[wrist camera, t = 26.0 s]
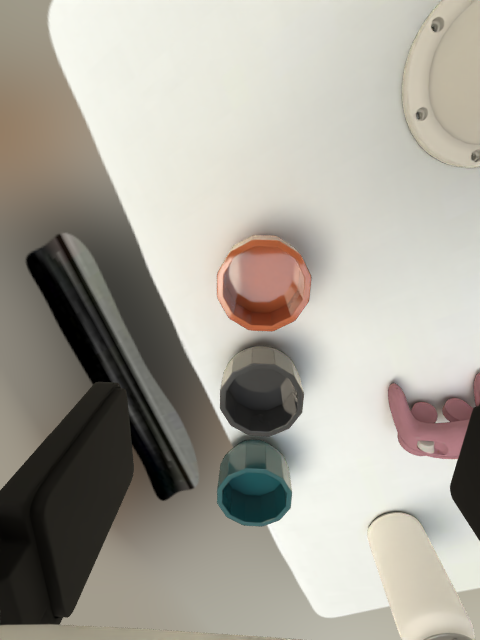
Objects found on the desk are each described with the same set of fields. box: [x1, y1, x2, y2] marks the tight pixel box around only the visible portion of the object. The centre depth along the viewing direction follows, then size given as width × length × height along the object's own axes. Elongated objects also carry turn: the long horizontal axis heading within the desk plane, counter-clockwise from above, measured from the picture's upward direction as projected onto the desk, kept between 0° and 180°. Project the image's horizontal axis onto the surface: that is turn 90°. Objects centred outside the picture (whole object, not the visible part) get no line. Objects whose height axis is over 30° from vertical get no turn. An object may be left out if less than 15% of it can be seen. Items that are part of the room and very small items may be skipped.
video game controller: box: [388, 373, 480, 459], centre depth 33 cm, size 10×5×7 cm, turn 99°
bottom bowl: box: [220, 346, 304, 436], centre depth 32 cm, size 7×7×5 cm
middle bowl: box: [217, 235, 311, 331], centre depth 29 cm, size 7×7×5 cm
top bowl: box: [217, 440, 292, 526], centre depth 36 cm, size 7×7×5 cm
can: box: [367, 512, 475, 640], centre depth 36 cm, size 6×6×12 cm
